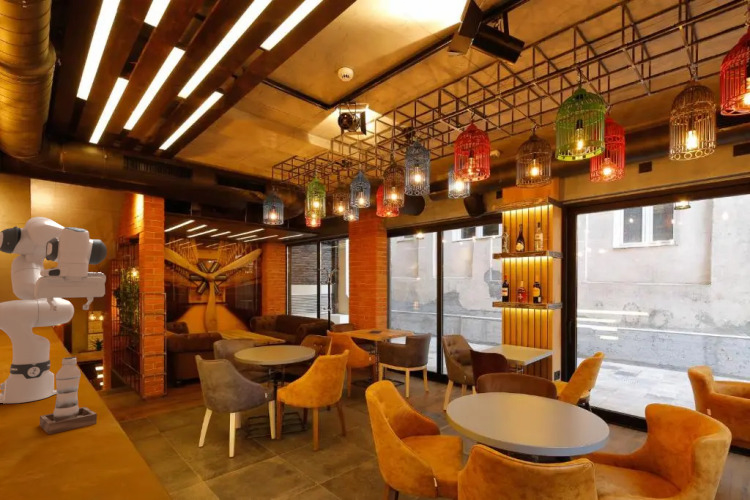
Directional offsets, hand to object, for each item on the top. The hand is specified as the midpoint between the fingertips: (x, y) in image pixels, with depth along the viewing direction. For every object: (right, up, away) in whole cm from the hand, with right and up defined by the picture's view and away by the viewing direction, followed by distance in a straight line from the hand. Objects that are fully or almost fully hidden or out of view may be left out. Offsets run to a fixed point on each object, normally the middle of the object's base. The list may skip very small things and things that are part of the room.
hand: (69, 310), depth 139 cm
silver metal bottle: (+10, -34, -15) cm, 38 cm away
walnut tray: (+11, -35, -15) cm, 39 cm away
